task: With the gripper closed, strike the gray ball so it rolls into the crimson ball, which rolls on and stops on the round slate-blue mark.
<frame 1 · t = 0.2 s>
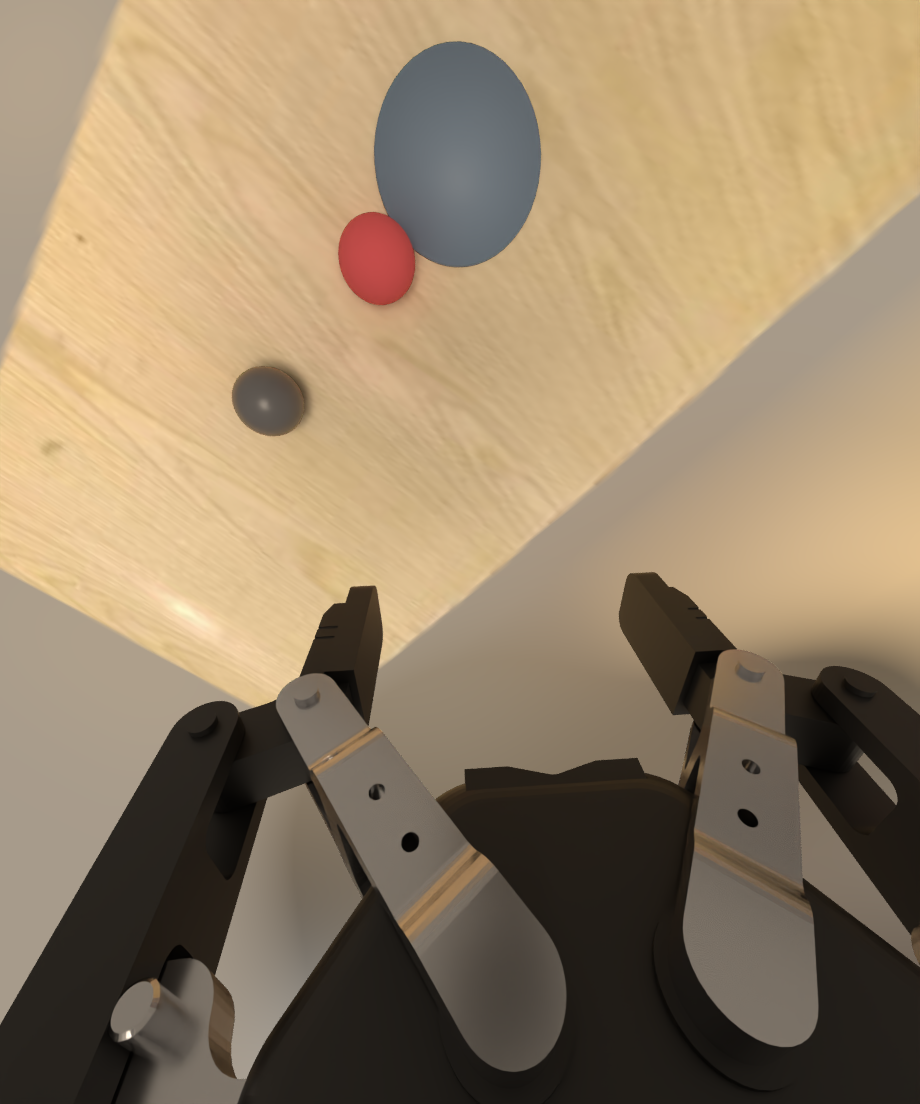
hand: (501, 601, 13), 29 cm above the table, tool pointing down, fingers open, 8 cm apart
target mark: (458, 166, 29), on the table
red ball: (377, 261, 30), on the table
gray ball: (269, 402, 34), on the table
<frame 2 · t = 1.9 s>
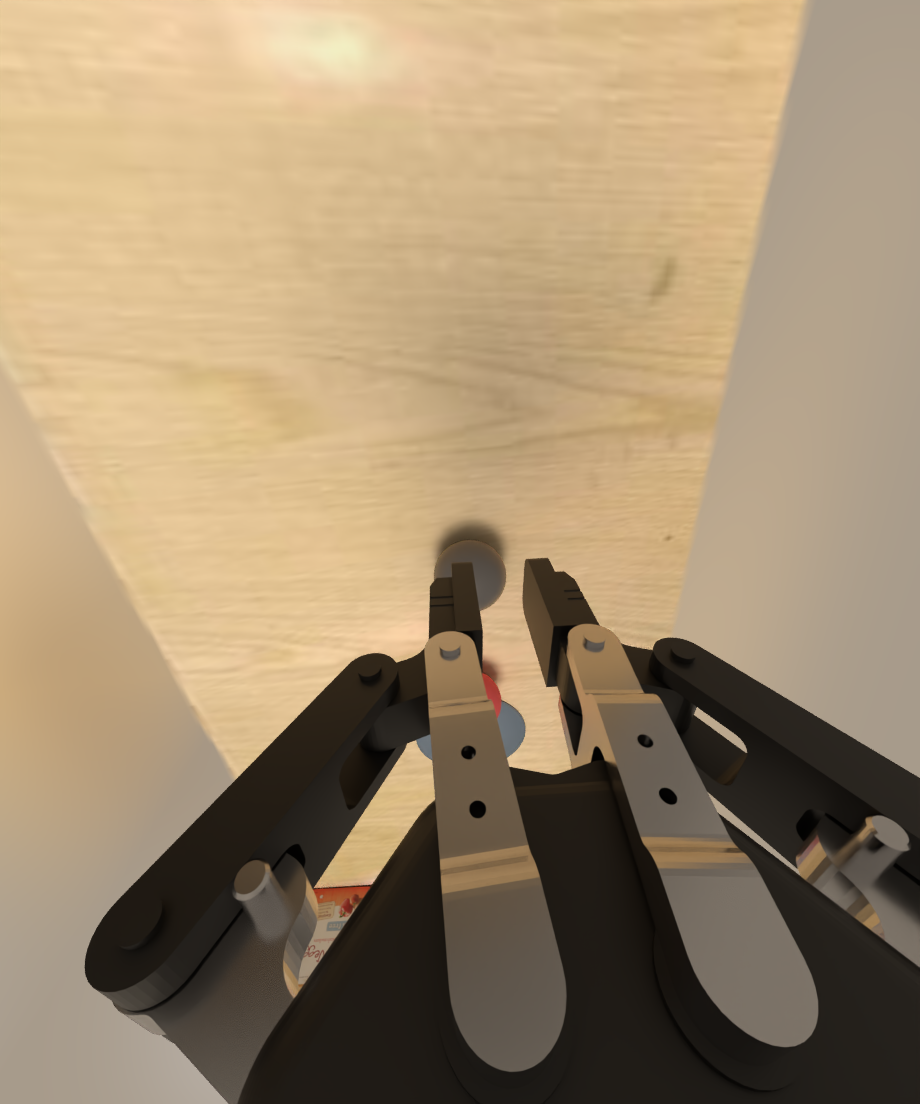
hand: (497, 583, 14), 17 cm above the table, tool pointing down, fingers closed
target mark: (470, 733, 44), on the table
cracker box: (354, 891, 62), on the table
red ball: (471, 701, 38), on the table
gray ball: (469, 575, 31), on the table
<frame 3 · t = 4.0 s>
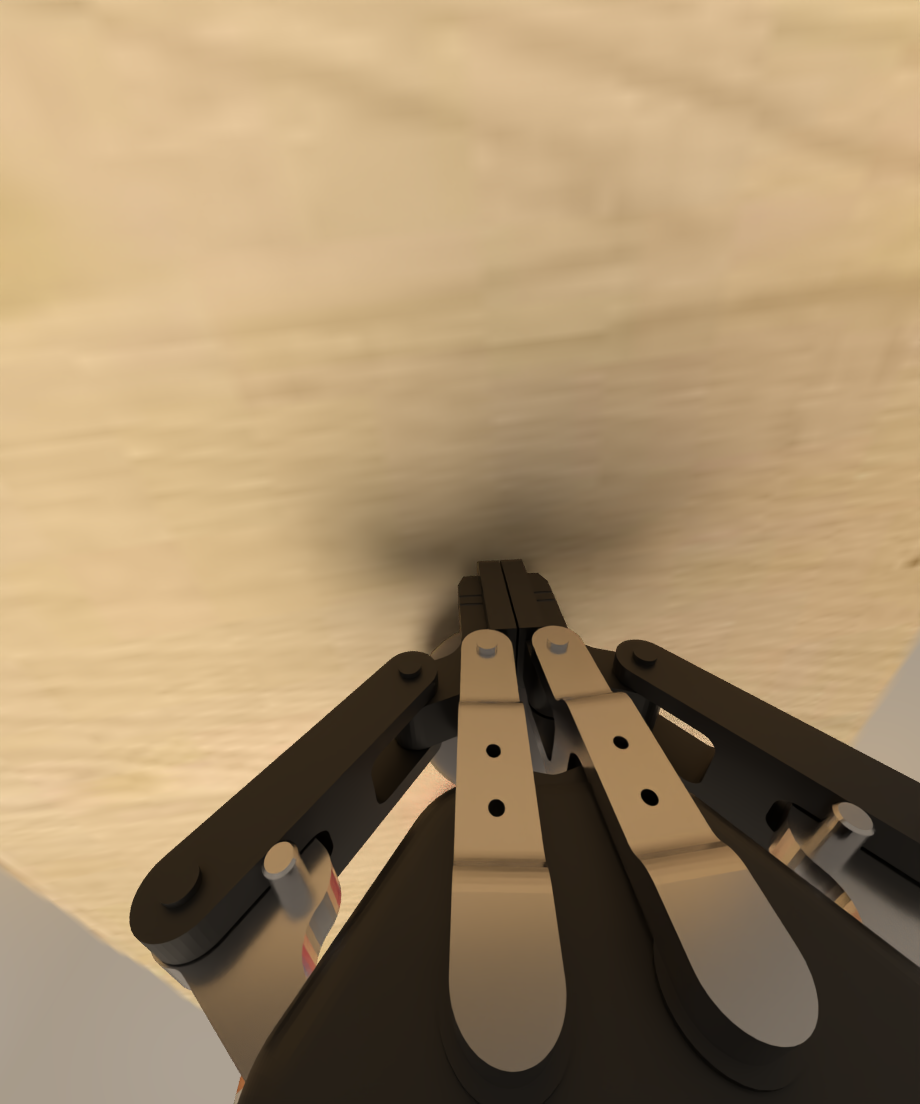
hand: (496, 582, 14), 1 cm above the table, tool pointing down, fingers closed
gray ball: (491, 704, 14), on the table
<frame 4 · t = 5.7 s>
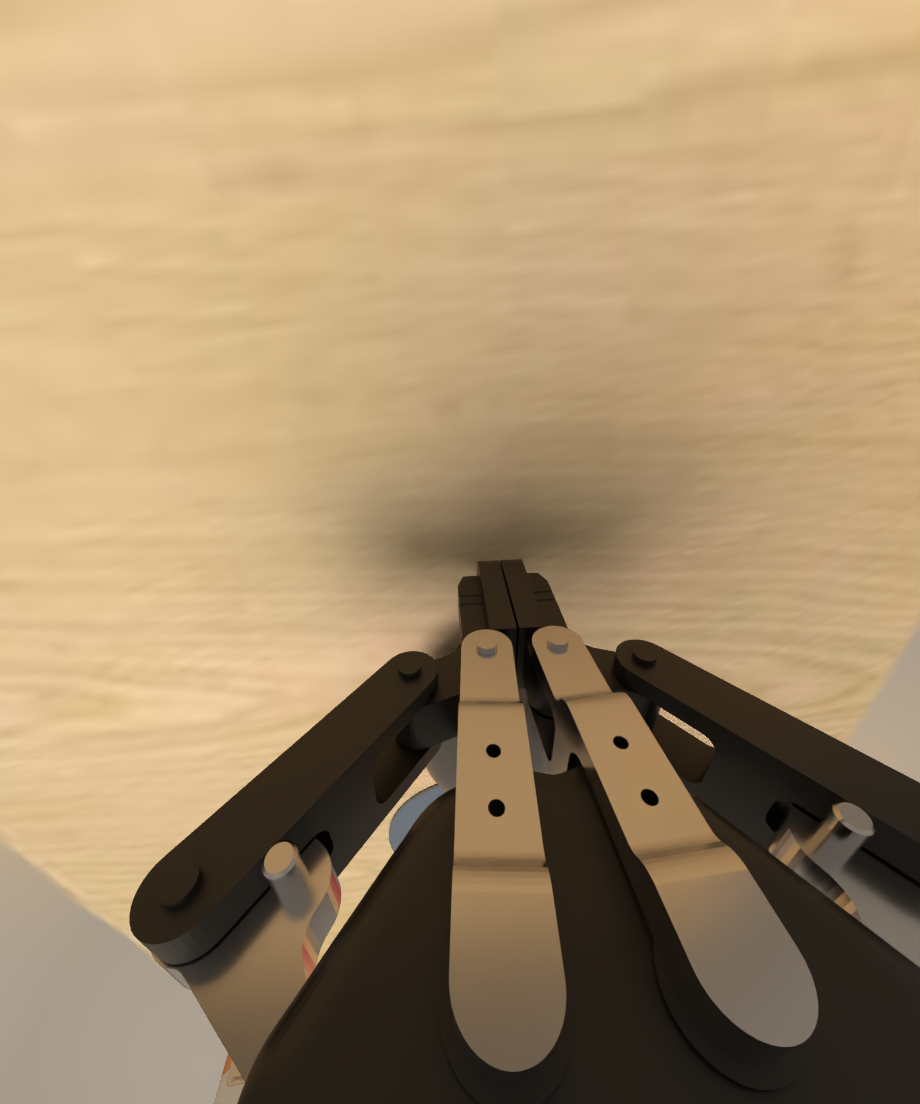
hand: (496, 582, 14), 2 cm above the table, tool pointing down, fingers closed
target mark: (487, 831, 25), on the table
cracker box: (310, 1020, 42), on the table
gray ball: (486, 724, 16), on the table
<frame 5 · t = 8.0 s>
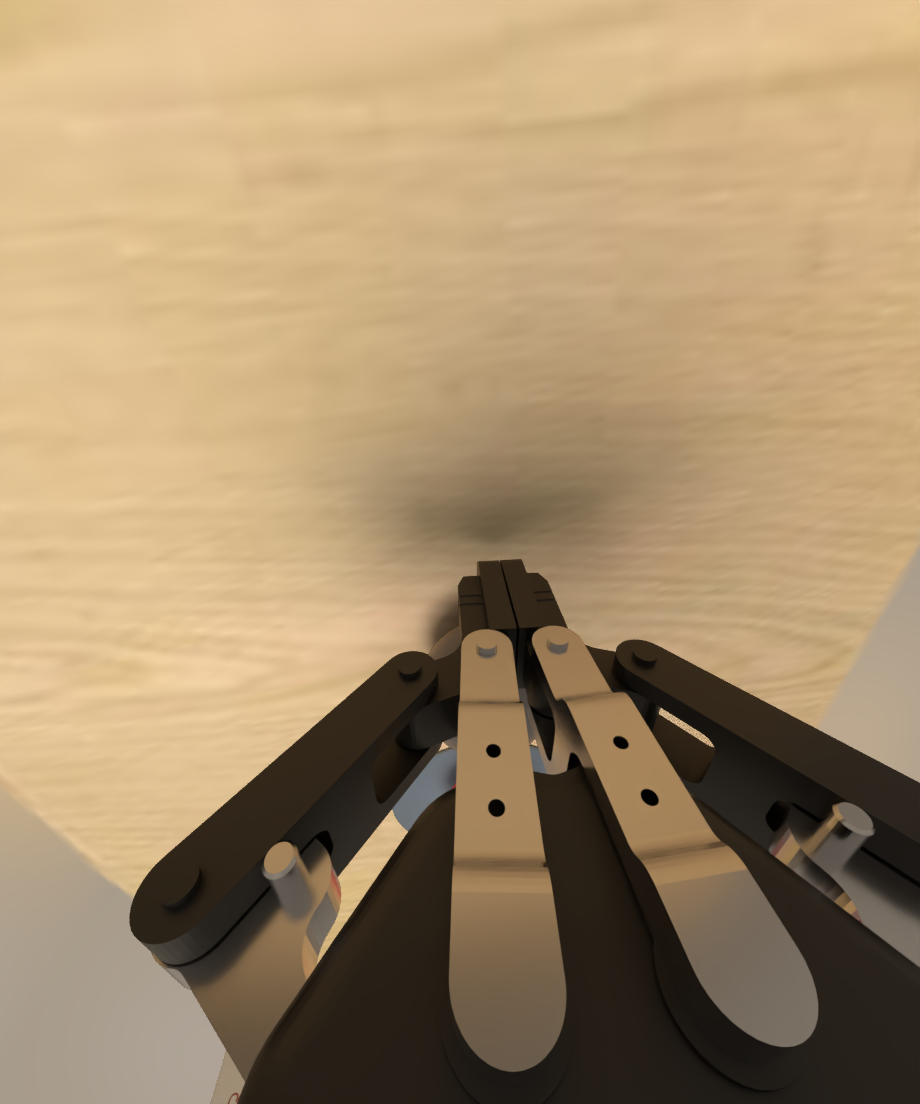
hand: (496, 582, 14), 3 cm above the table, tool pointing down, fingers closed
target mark: (485, 799, 26), on the table
cracker box: (313, 991, 44), on the table
gray ball: (486, 686, 17), on the table
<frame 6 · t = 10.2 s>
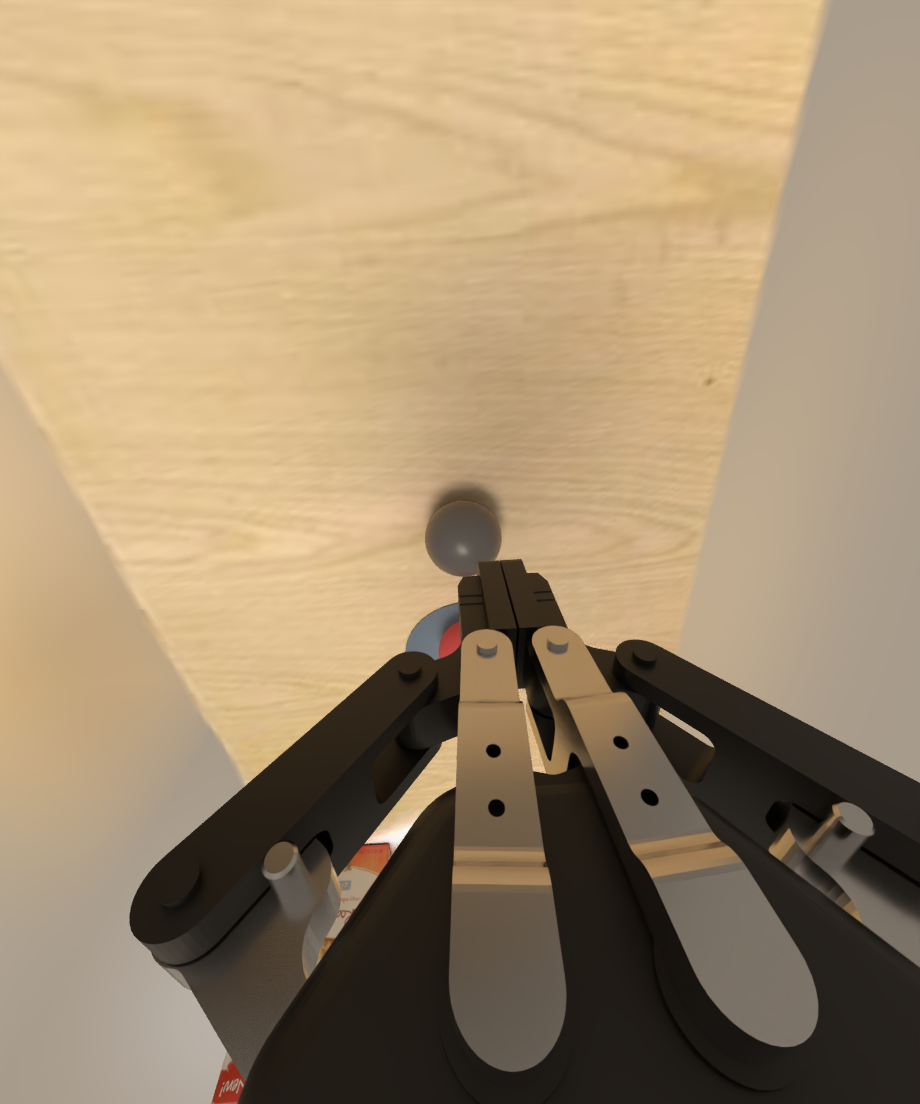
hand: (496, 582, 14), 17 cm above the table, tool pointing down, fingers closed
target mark: (469, 652, 38), on the table
cracker box: (340, 852, 56), on the table
red ball: (470, 651, 35), on the table
gray ball: (463, 538, 29), on the table
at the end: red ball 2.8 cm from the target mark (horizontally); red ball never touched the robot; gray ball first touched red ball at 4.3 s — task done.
